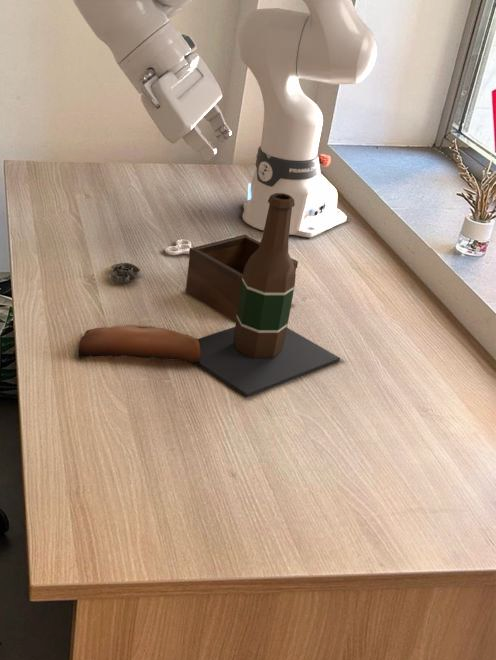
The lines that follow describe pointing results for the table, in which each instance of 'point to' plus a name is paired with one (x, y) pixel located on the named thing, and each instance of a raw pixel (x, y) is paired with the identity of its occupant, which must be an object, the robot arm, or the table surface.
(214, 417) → the table surface
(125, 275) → the corroded twin loop
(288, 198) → the beer bottle
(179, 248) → the fidget spinner
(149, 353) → the sunglasses case
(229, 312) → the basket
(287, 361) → the mat
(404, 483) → the table surface
